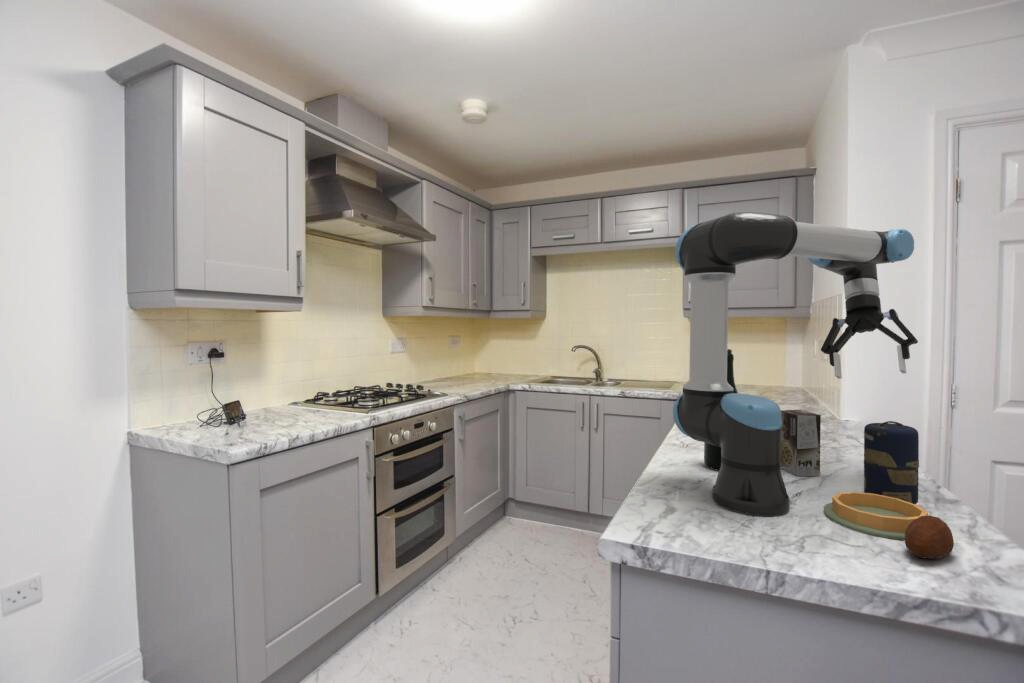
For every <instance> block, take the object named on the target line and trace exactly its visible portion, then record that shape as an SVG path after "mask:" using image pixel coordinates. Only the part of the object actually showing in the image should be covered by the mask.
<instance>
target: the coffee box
mask: <svg viewBox="0 0 1024 683" xmlns="http://www.w3.org/2000/svg"><path fill="white" fill-rule="evenodd" d="M780 411H781V420H782V431H781V466H780V468H781V469H782V468H783V470H784V471H786V472H788V473H789V474H790V473H791V474H792V475H795V476H796V477H820V476H821V421H822V420H821V416H822V415H821V414H817V413H814V412H809V411H806V410H802V409H785V410H782V409H780Z"/></svg>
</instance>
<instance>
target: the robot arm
mask: <svg viewBox="0 0 1024 683" xmlns="http://www.w3.org/2000/svg"><path fill="white" fill-rule="evenodd" d="M914 250H915V239H914V236H913V234H912V233H911V232H910V231H909V230H908V229H904V228H900V229H899V228H898V229H890V230H887V231H879V230H866V229H859V228H858V229H856V228H850V227H841V226H834V225H827V224H826V225H824V224H816V223H811V222H810V223H809V222H802V221H801V222H799V221H796V220H795V218H793V217H791V216H789V215H783V214H782V215H781V214H775V213H767V212H753V211H739V212H731V213H728V214H724V215H723V216H720V217H716V218H713V219H710V220H707V221H702V222H699V223H696V224H695V225H693V226H690V227H689V228H687V229H686V230H685V231H683V233H681V235H680V236H679V238H678V240H677V242H676V245H675V249H674V251H675V252H674V254H675V259H676V262H677V264H679V267H680V268H681V269H682V270H683V271H684V274H683V275H684V276H683V278H684V279H685V280H686V281H687V282H688V283H689V284H690V307H689V308H690V318H689V326H690V327H689V368H688V370H689V373H688V374H689V377H688V381H687V382H686V383H685V384H683V385H682V394H680V395H679V396H678V397H677V400H675V402H674V404H673V409H672V415H673V420H674V423H675V426H676V427H677V429H678V430H679V431H680V432H681V433H682V434H683V435H685V436H687V437H689V438H690V439H693V440H695V441H697V442H702V443H704V442H705V443H708V444H712V445H715V446H718V447H721V467H720V470H718V473H717V477H716V479H715V483H714V485H713V486H712V501H713V502H714V503H715V504H717V505H718V506H720V507H722V508H724V509H727V510H730V511H733V512H736V513H739V514H746V515H753V516H762V517H771V516H772V517H775V516H781V515H785V514H787V513H789V512H790V505H791V504H790V503H791V501H790V497H789V495H788V490H787V488H786V484H785V482H784V478H783V475H782V472H781V471H782V470H781V469H782V468H780V466H781V431H782V420H781V411H780V410H781V408H780V405H779V404H778V403H777V402H775V401H774V400H772V399H769V398H767V397H764V396H760V395H755V394H752V395H751V394H748V393H739V392H738V393H734V389H733V387H732V386H731V385H730V384H729V383H728V382H727V349H728V343H729V342H728V334H729V333H728V331H729V329H728V328H729V323H728V322H729V284H730V282H732V280H733V279H734V278H735V277H736V274H737V273H736V269H737V268H736V267H737V265H741V264H746V263H750V262H754V261H755V262H756V261H761V260H781V259H784V258H786V257H787V256H788V257H797V258H798V257H801V258H807V259H808V261H809V263H811V264H812V265H815V266H816V267H818V268H820V269H824V270H826V271H829V272H832V273H834V274H837V275H840V276H842V279H843V290H844V299H845V312H846V313H845V318H836V317H835V318H833V319H832V323H831V324H832V326H831V328H830V330H829V332H828V334H827V336H826V338H825V340H824V342H823V344H822V346H821V348H820V351H821V352H822V353H823V354H824V355H828V356H829V358H828V359H829V364H830V366H832V367H833V369H834V370H833V371H834V376H835V378H837V380H838V379H842V364H841V355H840V354H839V352H840V351H841V350H842V349H843V347H844V346H845V344H847V343H848V341H849V340H850V339H851V338H852V337H853V336H854V335H856V334H857V333H858V334H863V333H865V332H874V331H875V330H878V331H880V332H881V333H882V334H885V336H887V337H889V338H890V339H892V340H893V341H894V342H896V343H897V344H898V345H896V352H897V360H898V368H899V372H901V374H907V366H906V360H910V358H911V355H910V346H912V345H916V344H918V342H919V341H918V339H917V338H916V337H915V335H914V334H913V333H912V332H911V331H910V330H909V329H908V328H907V326H905V325H904V323H903V322H902V321H901V320H900V319H899V314H898V313H897V311H896V310H895V309H894V308H890V309H889V310H888V311H885V312H882V304H881V299H880V298H881V297H880V288H879V286H880V285H879V279H878V270H877V268H878V267H877V265H881V264H889V263H896V262H901V261H905V260H907V259H909V258H910V257H911V256H912V255H913V253H914ZM885 318H886V319H887V320H890V321H892V322H893V323H894V325H896V326H897V327H898V329H899V330H900V331H901V333H903V335H905V337H906V339H905V338H903V337H901V336H900V335H898V334H897V333H895V332H894V331H892V330H891V329H889V328H888V327H887V326H885V325H884V324H882V322H883V321H884V319H885ZM845 324H846V325H847V327H845V329H844V331H843V333H842V334H841V335H840V336H839V337H838V335H839V333H840V331H841V328H843V327H844V325H845ZM837 337H838V338H837ZM835 340H836V341H835Z"/></svg>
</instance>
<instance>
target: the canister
mask: <svg viewBox="0 0 1024 683" xmlns="http://www.w3.org/2000/svg"><path fill="white" fill-rule="evenodd" d="M863 431H864V432H863V434H864V435H863V439H864V440H863V493H871V494H878V495H883V496H888V497H893V498H897V499H900V500H903V501H906V502H909V503H912V504H915V505H918V503H919V468H920V459H919V458H920V457H919V456H920V453H919V452H920V451H919V449H920V448H919V445H920V443H919V432H918V430H917V429H916V428H915V427H912V426H909V425H904V424H903V423H901V422H897V421H893V420H889V421H885V422H873V423H872V422H871V423H867V424H866V425H865V426H864V429H863Z"/></svg>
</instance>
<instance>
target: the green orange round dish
mask: <svg viewBox="0 0 1024 683" xmlns="http://www.w3.org/2000/svg"><path fill="white" fill-rule="evenodd" d="M823 514H824V516H825V517H826V518H827V519H829V520H830V521H832V522H833V521H834V523H835V522H836V523H835V524H837V523H838V524H837V525H839V524H840V526H842V527H844V526H845V527H844V528H846V527H847V529H850V530H852V531H855V532H859V533H862V534H866V535H870V536H874V537H880V538H885V539H890V540H899V541H905V531H906V529H907V527H908V525H909V524H910V523H911V522H912V521H913V520H915V519H917V518H919V517H921V516H928V515H929V514H928V511H927V510H925V509H924V508H922V507H921V506H919V505H918V504H916V505H915V504H912V503H909V502H906V501H903V500H900V499H897V498H893V497H888V496H883V495H878V494H871V493H864V492H857V491H847V492H836V494H835V495H833V496H832V497H831V502H829V503H826V504H825V505H824V506H823Z"/></svg>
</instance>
